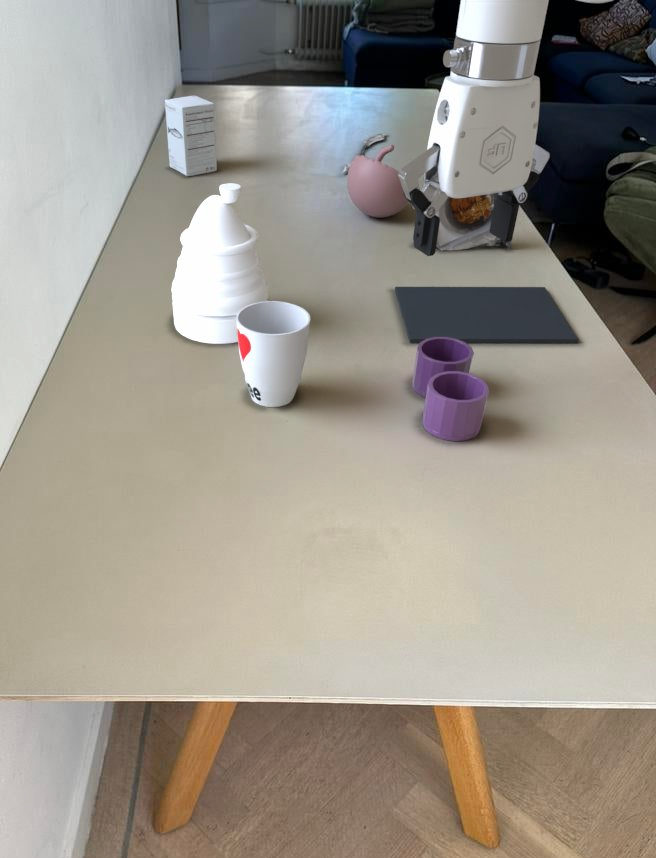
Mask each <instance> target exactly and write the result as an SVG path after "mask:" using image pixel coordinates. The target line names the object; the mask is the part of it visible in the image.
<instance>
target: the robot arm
mask: <svg viewBox="0 0 656 858" xmlns="http://www.w3.org/2000/svg"><path fill="white" fill-rule="evenodd" d="M549 1H550V0H460V4H459V10H458V11H459V12H458V18H457V25H456V32H455V39H454V41H453V48H452V49H447V50H446V51H445V52H444V53H443V56H442V62H443V65H444V67H445V68H450V75H447V76H445V77H444V80H443V83H442V86H441V89H440V92H439V95H438V99H437V102H436V105H435V106H436V107H435V110H434V114H433V118H432V121H431V127H430V132H429V137H428V141H427V147H426V150H425V151H424V152H422V153H421V154H420V155H418V156H416V157H415V158H414V159H412V160H411V161H410V162H408V163H407V164H406V165H404V166H403V167H401V168H400V169H399V170H398V171H399V172H398V177H399V180H400V183H401V186H402V189H403V190H404V196H405V198H406V199H407V200H408V201H409V204H410V205H411V207H412V209H413V210H415V220H414V227H413V237H412V239H413V240H412V241H413V247H414V248H415V249H417V250H418V251H419V252H421V253H422V254H424V255H425V256H426V257H431V256H434V255H435V254H436V250H437V247H436V244H437V238H438V231H439V224H440V218H439V217H438V216H436V215H435V214H436V213H437V212H438V210H439V209H440V208H441V206H442V205H443V204H444V202H445V201H446V200H447V198H448V197H451V198H466V197H473V196H480V195H486V194H492V193H499V192H502V195H497V198H496V200H495V204H494V210H493V215H492V220H491V225H490V233H491V234H492V235H494V236H496V237H498V238H499V239H501V240H503V241H505V242H509V241H511V242H512V240H513V237H514V232H515V229H516V228H515V227H516V224H517V218H518V215H519V214H518V213H519V210H520V209H519V208H520V205H521V204H523V203H524V202H526V200H527V198H528V193H529V192H530V191H531V189H532V188H533V187H534V186H535V185H536V184H537V183H538V182H539V179H540V174H541V173H542V171H543V170H544V168H545V166H546V165H547V163H548V161H550V157H551V155H550V154H551V153H550V152H549V151H547V150H546V149H545V148H542V147H541V146H539V145H538V144H537V143H536V141H537V134H538V126H539V119H540V118H539V117H540V105H541V81H540V77H539V76H537V75H535V71H536V66H537V65H536V64H537V60H538V55H539V50H540V45H541V40H542V35H543V30H544V26H545V21H546V17H547V16H546V15H547V12H548V11H547V10H548V6H549ZM576 1H578V2H583V3H588V4H605V3H609V2H613V1H614V0H576ZM422 176H423V179H425V183H426V184H425V185H424V187H423V188H422V187H421V189H420V185H419V181H420V178H421V177H422ZM435 191H437V192H436V193H435ZM434 193H435V195H434V196H433V197H432V195H433V194H434ZM431 197H432V199H431V200H430V201H429V199H430V198H431ZM505 242H504V243H505Z"/></svg>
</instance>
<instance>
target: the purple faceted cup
mask: <svg viewBox="0 0 656 858" xmlns="http://www.w3.org/2000/svg"><path fill="white" fill-rule="evenodd" d="M489 393H490V388H489V385H488V383H486V381H484V379H482V378H481V377H479V376H477V375H475V374H472V373H471V372H470V373H465V372H460V371H446V372H442V373H438V374H436V375H434V376H433V377H431V378H430V380H429V382H428V386H427V392H426V398H425V400H424V405H423V412H422V426H423V428H424V429H425V430H426V432H427V433H428V434H430V435H432V436H433V437H436V438H437V439H440V440H444V441H449V442H462V441H463V442H464V441H468V440H471V439H473V438H475V437H476V436H477V435H478V434H479V433H480V432H481V428H482V425H483V419H484V416H485V410H486V405H487V401H488V397H489Z"/></svg>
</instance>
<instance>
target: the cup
mask: <svg viewBox="0 0 656 858" xmlns="http://www.w3.org/2000/svg"><path fill="white" fill-rule="evenodd" d="M236 321H237V333H238V342H237V343H238V344H237V345H238V353H239V358H240V363H241V367H242V373H243V379H244V382H245V384H246V387H247V389H248V392H249V395H250V397H251V400H252V401H253V402H254V403H255V404H257V405H260V406H261V407H266V408H279V407H280V408H281V407H283V406H287V405H289V404H290V403H291V402H292V401H293V399H294V397H295V395H296V393H297V390H298V387H299V385H300V382H301V379H302V376H303V371H304V367H305V362H306V357H307V352H308V344H309V334H310V327H311V326H310V325H311V324H310V323H311V315H310V313H309V312H308V310H307V309H305V308H304V307H301V305H300V306H299V305H297V304H295V303H291V302H286V301H279V300H278V301H277V300H268V301H265V302H258V303H254V304H251V305H248V306H246V307H244V308H242V309H241V310H240V311H239V312H238V313H237V316H236Z"/></svg>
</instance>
